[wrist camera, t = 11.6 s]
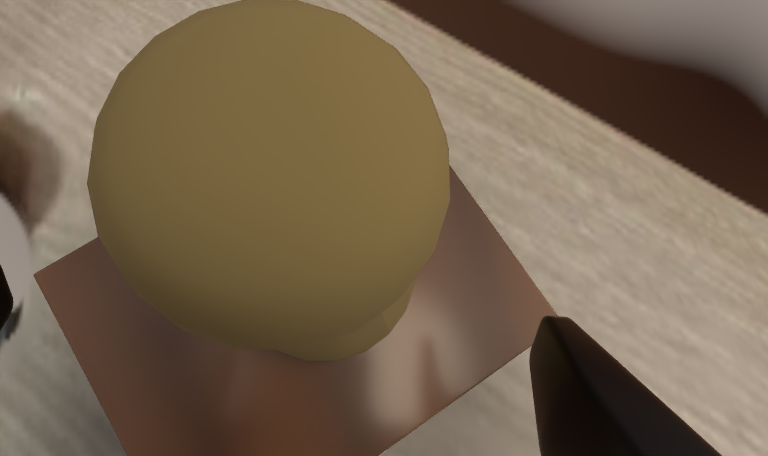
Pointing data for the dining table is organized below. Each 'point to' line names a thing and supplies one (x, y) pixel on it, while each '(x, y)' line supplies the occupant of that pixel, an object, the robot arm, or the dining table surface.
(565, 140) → the dining table surface
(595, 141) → the dining table surface
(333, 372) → the wooden stand
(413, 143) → the tan rounded tall piece
